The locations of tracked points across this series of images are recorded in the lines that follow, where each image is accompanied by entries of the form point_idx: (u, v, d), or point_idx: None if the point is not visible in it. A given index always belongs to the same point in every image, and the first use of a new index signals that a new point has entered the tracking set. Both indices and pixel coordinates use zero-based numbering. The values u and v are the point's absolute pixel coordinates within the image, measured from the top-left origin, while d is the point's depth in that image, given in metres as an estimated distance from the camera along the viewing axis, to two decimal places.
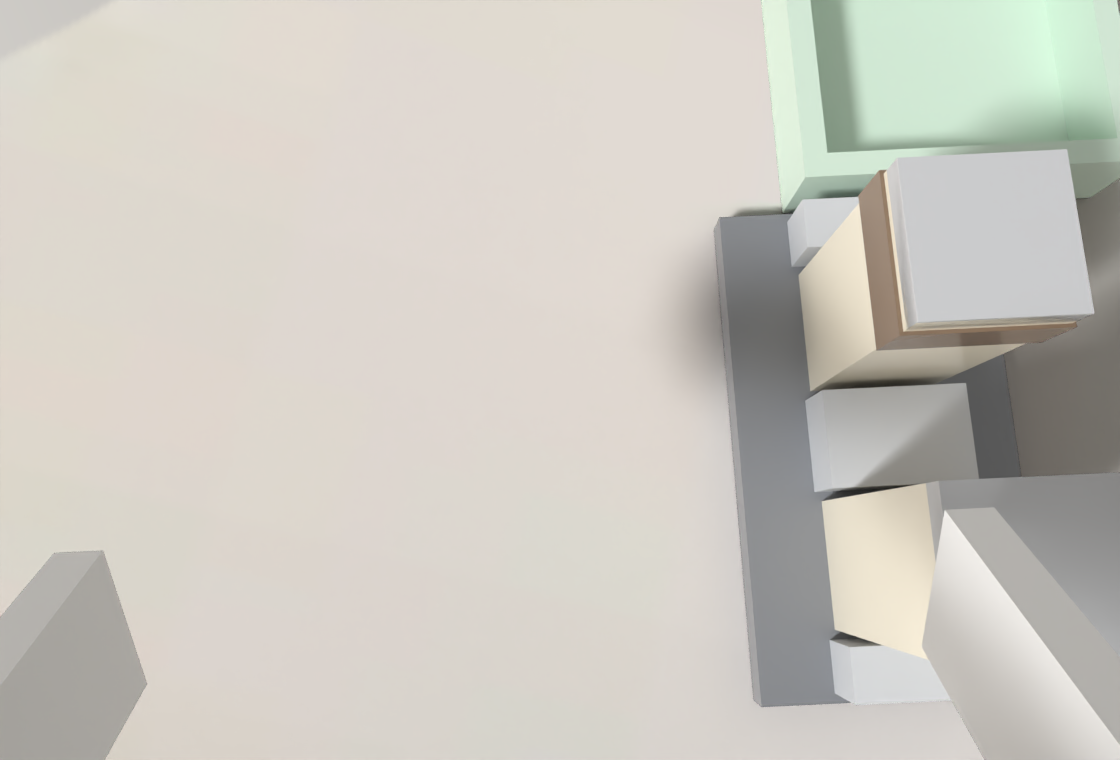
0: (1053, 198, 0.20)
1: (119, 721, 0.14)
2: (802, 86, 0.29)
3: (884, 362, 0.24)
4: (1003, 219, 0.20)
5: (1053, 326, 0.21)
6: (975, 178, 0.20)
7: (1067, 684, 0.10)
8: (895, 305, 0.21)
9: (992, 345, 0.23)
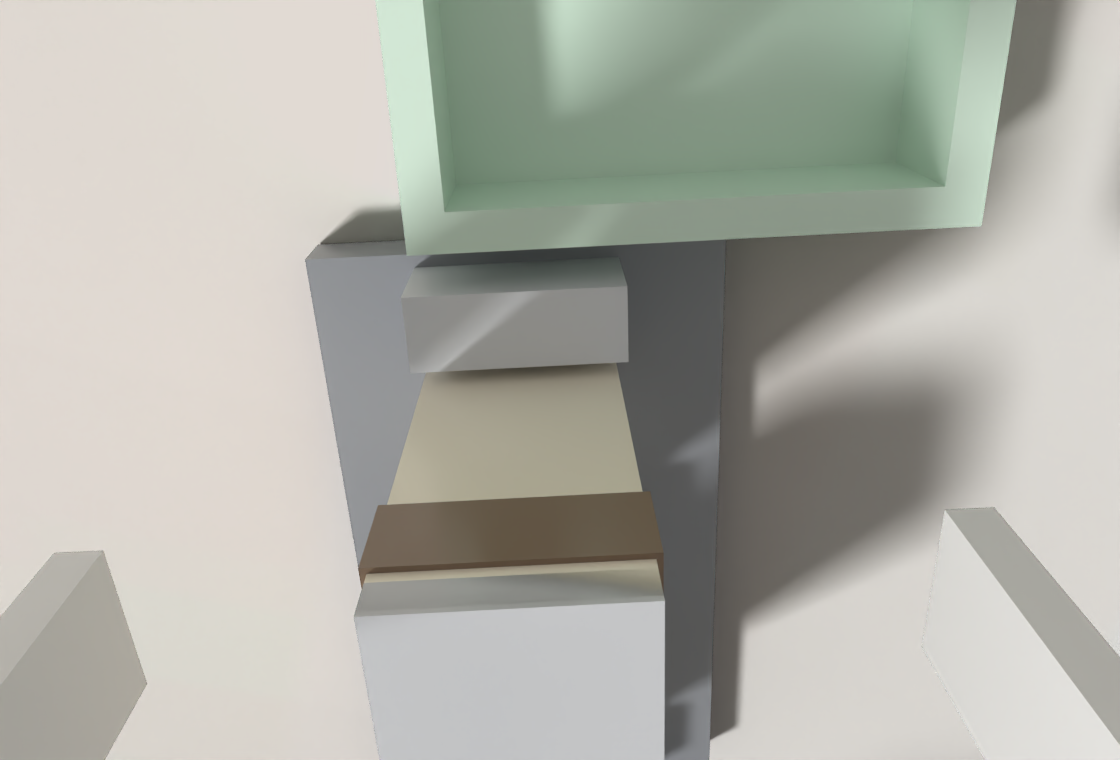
0: (627, 675, 0.12)
1: (118, 721, 0.13)
2: (398, 79, 0.15)
3: None
4: (537, 705, 0.12)
5: None
6: (495, 647, 0.11)
7: (1067, 684, 0.10)
8: None
9: None
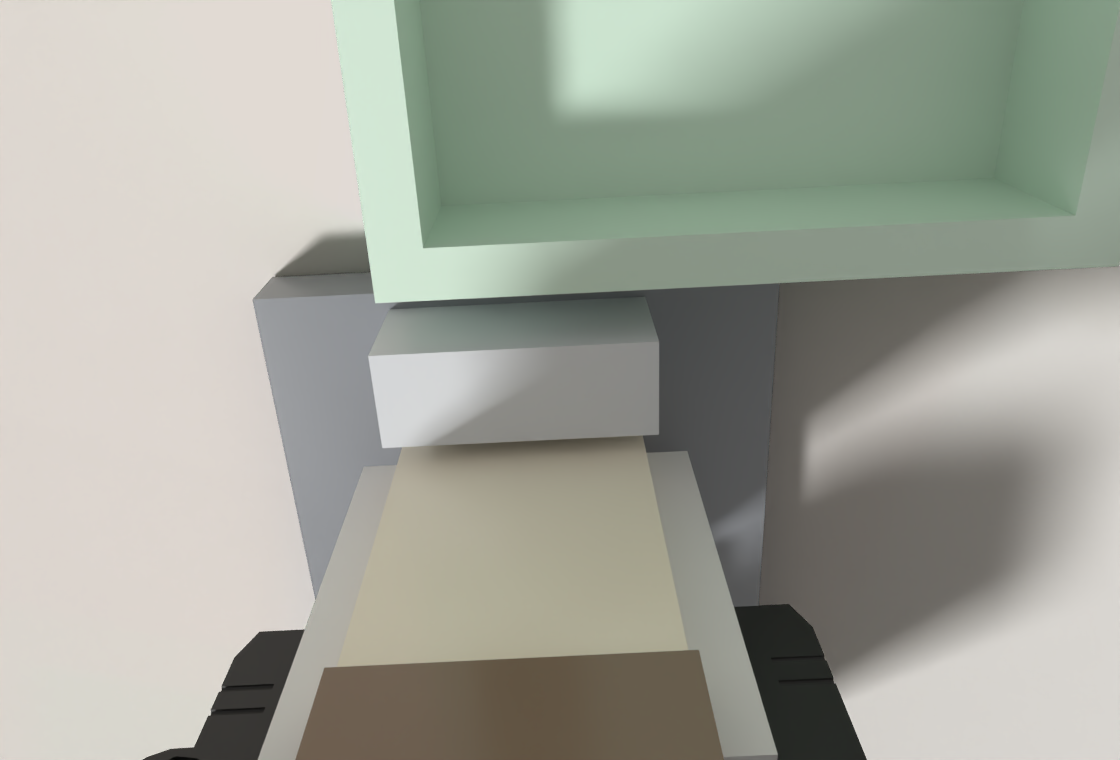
0: None
1: None
2: (359, 76, 0.12)
3: None
4: None
5: None
6: None
7: None
8: None
9: None
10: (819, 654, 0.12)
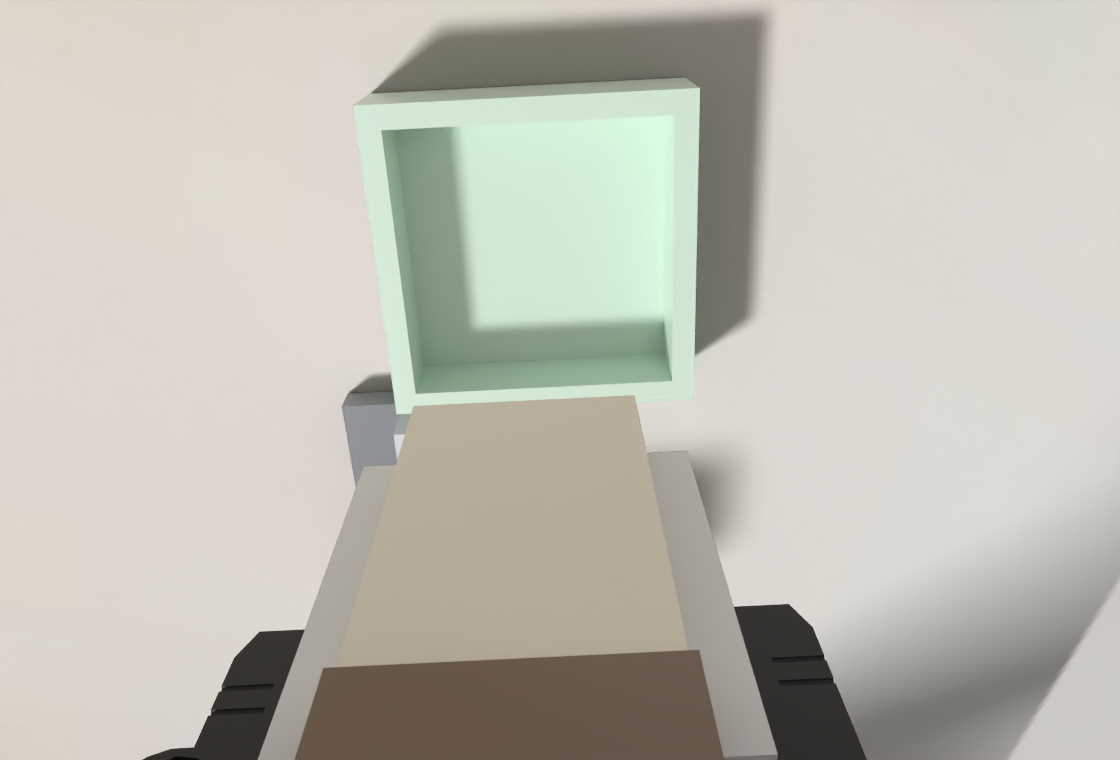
0: None
1: None
2: (391, 334, 0.31)
3: None
4: None
5: None
6: None
7: None
8: None
9: None
10: (819, 654, 0.12)
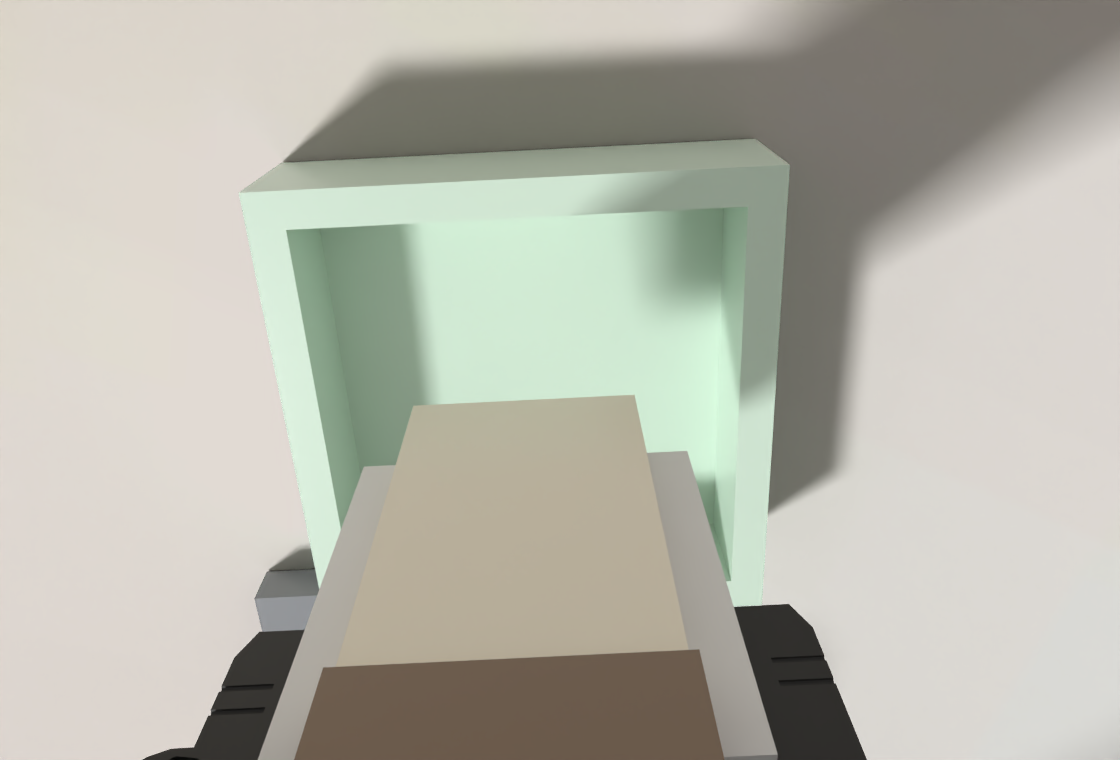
0: None
1: None
2: (315, 520, 0.21)
3: None
4: None
5: None
6: None
7: None
8: None
9: None
10: (819, 654, 0.12)
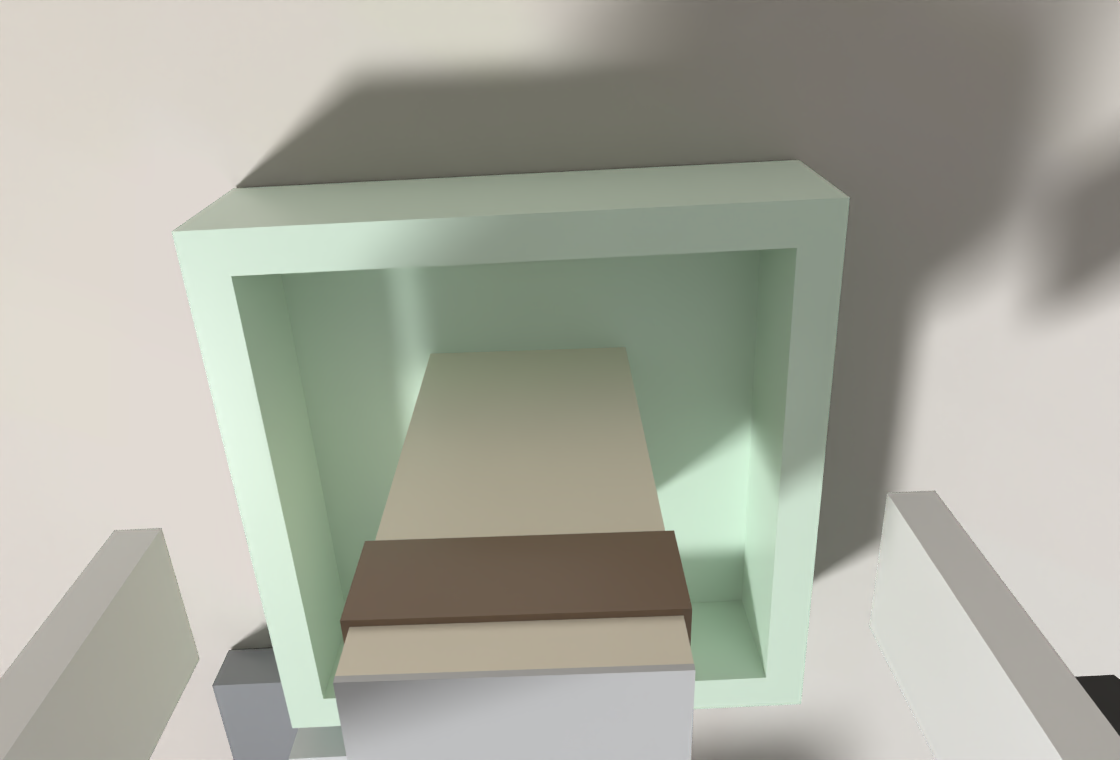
0: (648, 751, 0.10)
1: (175, 692, 0.14)
2: (275, 611, 0.17)
3: None
4: None
5: None
6: (497, 718, 0.10)
7: (987, 655, 0.11)
8: None
9: None
10: None
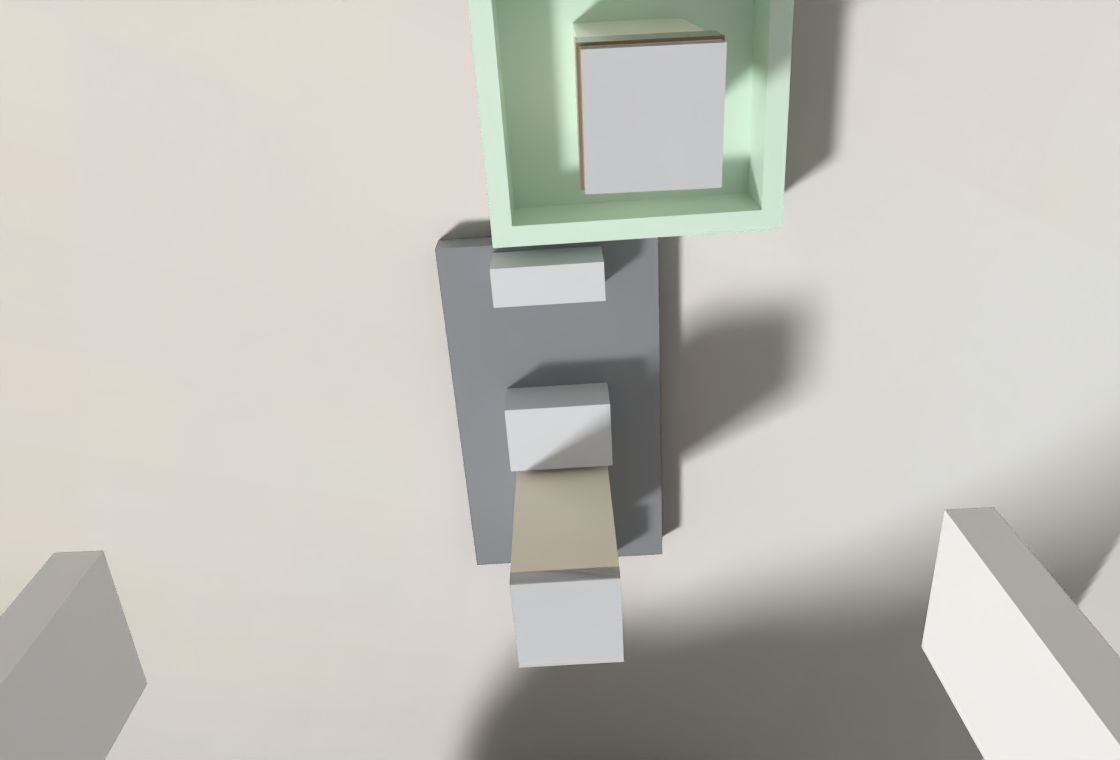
0: (707, 89, 0.24)
1: (118, 720, 0.13)
2: (490, 163, 0.32)
3: None
4: (663, 108, 0.24)
5: None
6: (645, 69, 0.24)
7: (1067, 684, 0.10)
8: None
9: None
10: None
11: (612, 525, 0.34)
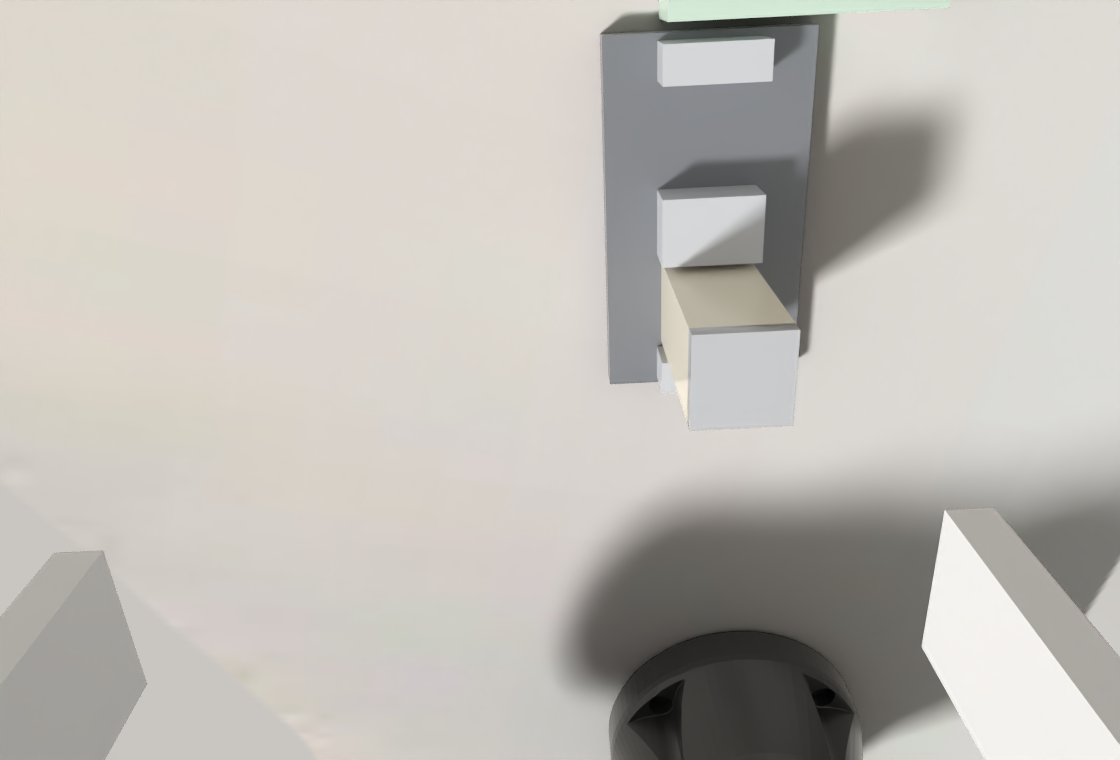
0: None
1: (118, 721, 0.13)
2: None
3: None
4: None
5: None
6: None
7: (1067, 684, 0.10)
8: None
9: None
10: None
11: (777, 300, 0.35)
